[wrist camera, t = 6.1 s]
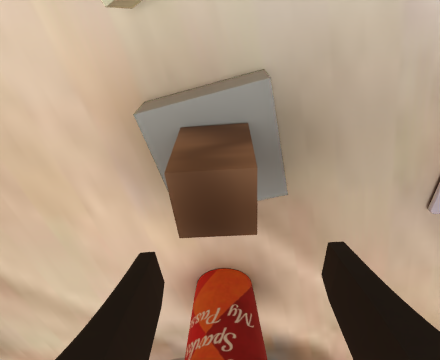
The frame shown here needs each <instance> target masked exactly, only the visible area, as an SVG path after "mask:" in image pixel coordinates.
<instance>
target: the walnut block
mask: <svg viewBox="0 0 440 360" xmlns="http://www.w3.org/2000/svg"><path fill="white" fill-rule="evenodd" d="M164 175H165V179H166V183H167V187H168V191H169V196H170V200H171V204H172V208H173V213H174V217H175V221H176V225H177V229H178V234H179V238H192V237H214V236H237V235H257V163H256V158H255V154H254V149H253V144H252V139H251V134H250V129H249V124H248V123H240V124H225V125H211V126H196V127H182V128H180V130H179V133H178V136H177V139H176V141H175V144H174V147H173V150H172V153H171V156H170V158H169V161H168V164H167V167H166V170H165V172H164Z"/></svg>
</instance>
